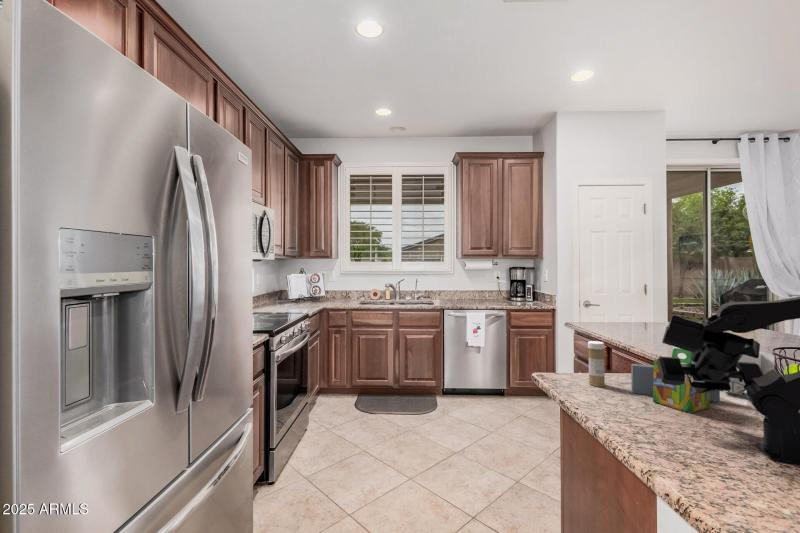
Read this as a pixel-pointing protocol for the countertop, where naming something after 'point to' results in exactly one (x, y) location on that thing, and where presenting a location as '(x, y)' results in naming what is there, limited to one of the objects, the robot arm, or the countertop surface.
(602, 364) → the sprinkles bottle
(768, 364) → the toilet tissue
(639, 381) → the board
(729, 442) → the countertop surface
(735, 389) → the game die
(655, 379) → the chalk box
